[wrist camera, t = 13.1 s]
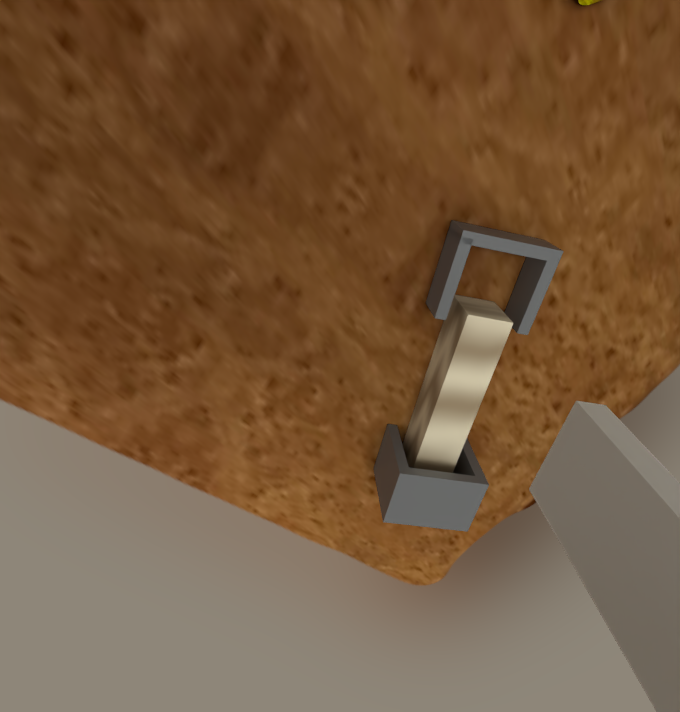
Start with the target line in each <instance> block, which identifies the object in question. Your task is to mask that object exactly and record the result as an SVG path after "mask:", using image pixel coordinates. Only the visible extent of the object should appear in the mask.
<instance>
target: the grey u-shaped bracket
mask: <svg viewBox="0 0 680 712" xmlns="http://www.w3.org/2000/svg"><path fill="white" fill-rule="evenodd" d="M471 245H473V246H478V247H482V248H487V249H492V250H497V251H502V252H507V253H511V254H516V255H521V256H526V259H525V262H524V264H523V267H522V269H521V272H520V274H519V277H518V279H517V282H516V285H515V287H514V290H513V292H512V295H511V297H510V300H509V302H508V305H507V307H506V310H505V312H504V313H505V314H506V315H507V316H508V317H509V319H510V320H511V321H512V322H513V326H512V328H513V329H514V330H515V331H516V332H517V333H520V334H525V335H528V333H529V331H530V328H531V326H532V324H533V321H534V319H535V317H536V314H537V312H538V310H539V307H540V305H541V303H542V300H543V298H544V296H545V293H546V291H547V289H548V286H549V284H550V282H551V279H552V277H553V275H554V272H555V270H556V268H557V265H558V263H559V261H560V258H561V256H562V254H563V251H562V250H561V249H559V248H557V247H556V246H554V245H552V244H551V243H549V242H547V241H545V240H542V239H538V238H533V237H528V236H523V235H519V234H514V233H509V232H505V231H500V230H495V229H491V228H486V227H481V226H477V225H472V224H467V223H463V222H458V221H453V220H452V221H451V224H450V227H449V230H448V233H447V237H446V240H445V243H444V246H443V249H442V253H441V256H440V259H439V262H438V265H437V268H436V272H435V275H434V278H433V281H432V284H431V288H430V291H429V294H428V297H427V300H426V304H427V306H428V308H429V309H430V311H431V313H432V314H433V316H434V318H437V319H442V320H446V319H447V316H448V313H449V310H450V307H451V304H452V301H453V298H454V295H455V292H456V289H457V286H458V283H459V280H460V277H461V274H462V271H463V268H464V266H465V263H466V260H467V257H468V254H469V251H470V248H471Z"/></svg>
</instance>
